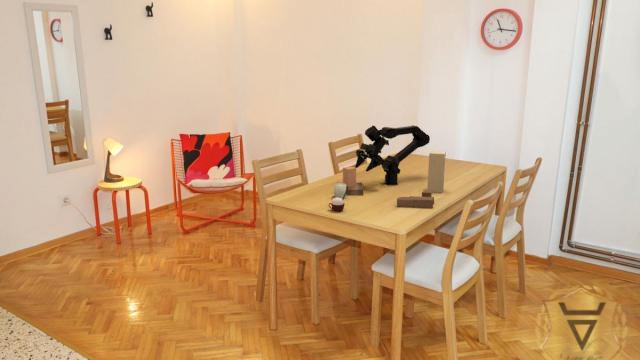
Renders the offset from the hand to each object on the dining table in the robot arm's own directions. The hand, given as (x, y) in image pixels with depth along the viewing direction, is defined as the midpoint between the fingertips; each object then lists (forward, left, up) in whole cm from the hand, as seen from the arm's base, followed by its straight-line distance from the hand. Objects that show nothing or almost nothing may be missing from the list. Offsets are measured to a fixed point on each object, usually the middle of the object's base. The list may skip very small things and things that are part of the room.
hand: (360, 169), depth 281 cm
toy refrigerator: (-40, +3, -11) cm, 41 cm away
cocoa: (+12, +36, -11) cm, 40 cm away
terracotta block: (+6, +5, -8) cm, 11 cm away
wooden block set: (-26, +24, -12) cm, 37 cm away
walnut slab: (+6, +4, -11) cm, 13 cm away
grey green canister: (+11, +15, -11) cm, 22 cm away
